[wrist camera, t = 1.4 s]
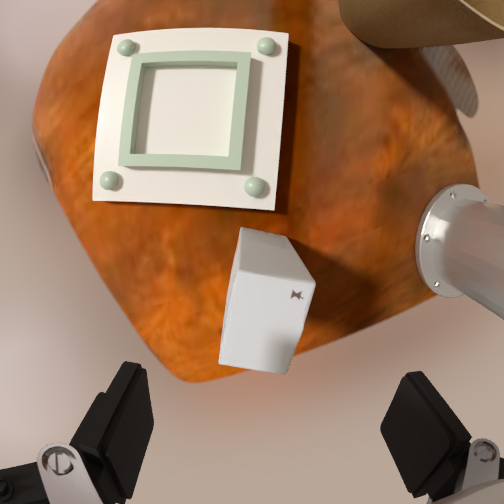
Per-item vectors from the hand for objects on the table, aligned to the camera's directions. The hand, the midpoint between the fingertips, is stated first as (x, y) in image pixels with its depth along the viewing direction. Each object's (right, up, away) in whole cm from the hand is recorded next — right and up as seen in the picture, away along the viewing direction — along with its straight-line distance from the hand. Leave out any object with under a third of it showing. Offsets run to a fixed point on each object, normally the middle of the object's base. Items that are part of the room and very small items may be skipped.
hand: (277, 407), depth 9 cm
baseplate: (-6, +17, +14) cm, 23 cm away
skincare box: (-1, +4, +18) cm, 18 cm away
